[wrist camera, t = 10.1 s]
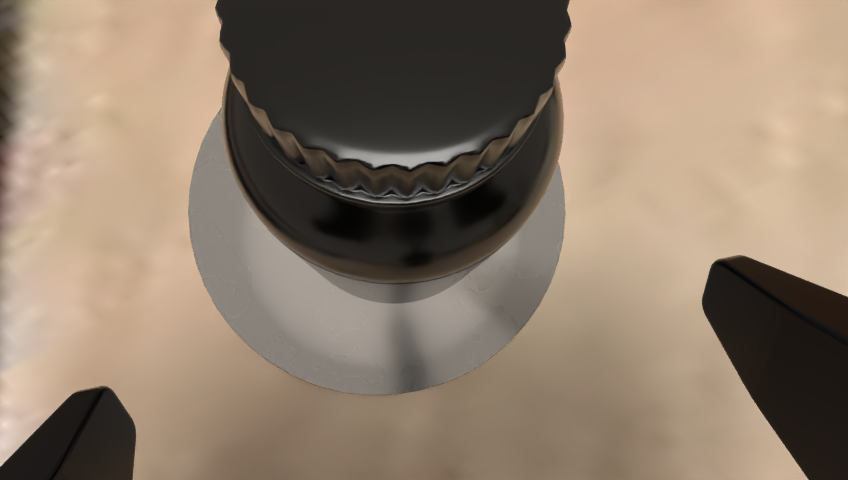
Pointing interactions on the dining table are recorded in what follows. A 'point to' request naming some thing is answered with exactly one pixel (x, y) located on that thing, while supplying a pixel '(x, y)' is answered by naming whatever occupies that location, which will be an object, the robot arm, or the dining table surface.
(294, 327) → the metal plate
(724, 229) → the dining table surface
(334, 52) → the supplement bottle
